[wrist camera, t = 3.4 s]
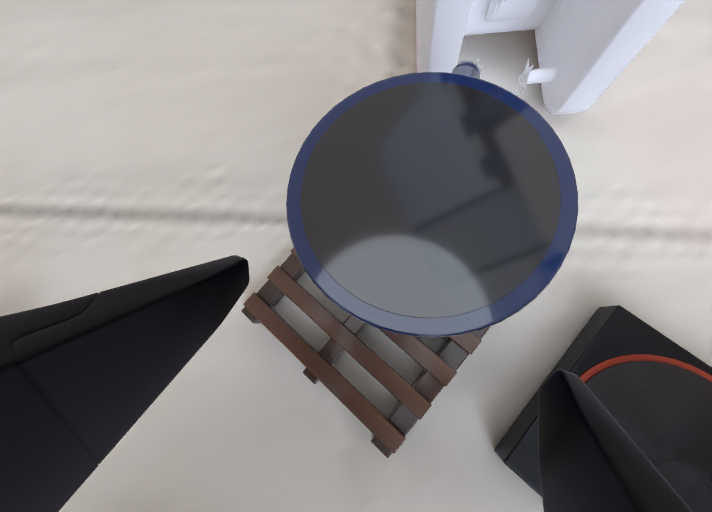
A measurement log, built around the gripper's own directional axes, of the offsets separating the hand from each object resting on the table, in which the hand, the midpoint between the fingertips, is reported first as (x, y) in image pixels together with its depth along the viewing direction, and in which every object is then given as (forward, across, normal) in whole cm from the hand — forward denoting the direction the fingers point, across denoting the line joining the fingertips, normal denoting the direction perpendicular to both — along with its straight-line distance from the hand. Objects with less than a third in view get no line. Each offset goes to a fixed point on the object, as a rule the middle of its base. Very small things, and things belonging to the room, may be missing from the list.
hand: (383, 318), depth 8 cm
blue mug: (+10, 0, +3) cm, 10 cm away
